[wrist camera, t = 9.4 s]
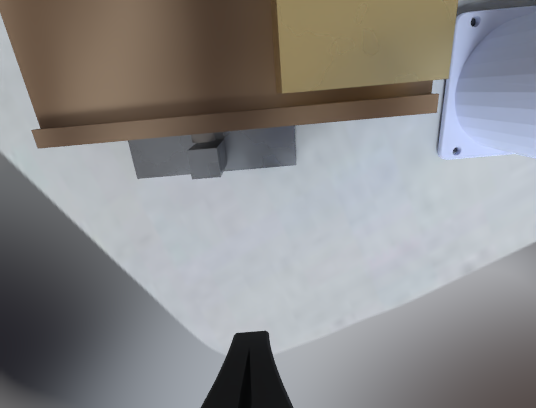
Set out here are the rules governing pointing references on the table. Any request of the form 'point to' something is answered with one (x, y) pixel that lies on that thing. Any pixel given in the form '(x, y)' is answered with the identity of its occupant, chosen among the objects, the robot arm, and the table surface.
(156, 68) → the beam
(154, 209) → the table surface
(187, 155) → the beam stand
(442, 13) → the rider
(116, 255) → the table surface
